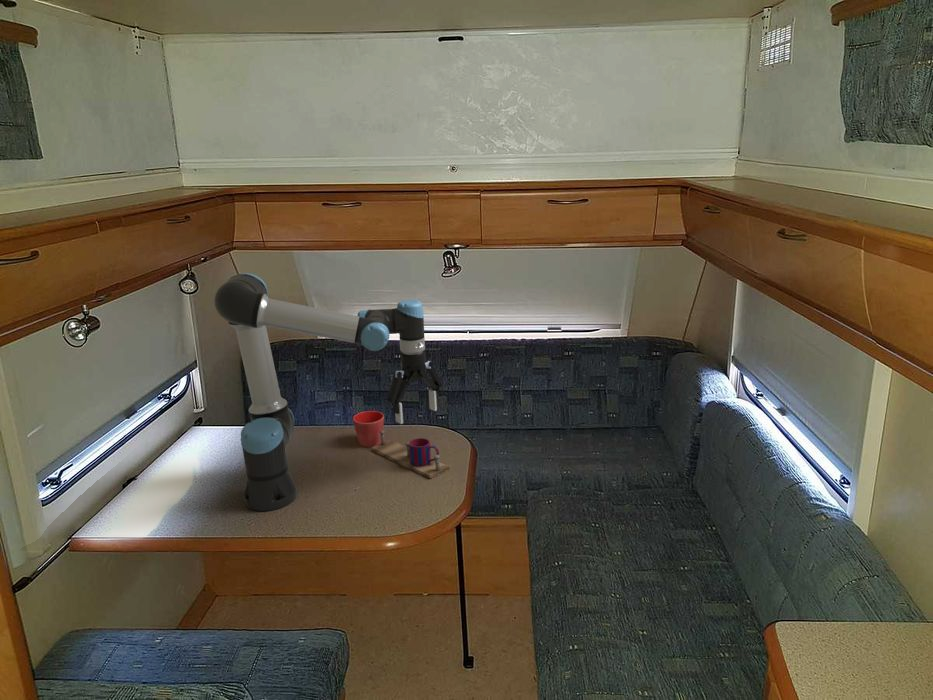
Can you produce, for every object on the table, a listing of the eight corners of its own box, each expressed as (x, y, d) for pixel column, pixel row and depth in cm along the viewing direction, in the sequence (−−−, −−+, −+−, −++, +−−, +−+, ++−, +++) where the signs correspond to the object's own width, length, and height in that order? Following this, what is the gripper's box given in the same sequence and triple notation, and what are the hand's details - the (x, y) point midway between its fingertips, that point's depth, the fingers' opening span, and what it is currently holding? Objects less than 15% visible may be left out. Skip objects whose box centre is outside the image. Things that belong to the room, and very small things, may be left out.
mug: (418, 455, 221) (416, 436, 219) (443, 461, 216) (442, 442, 214) (406, 463, 216) (404, 444, 214) (431, 470, 211) (430, 450, 209)
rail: (372, 450, 229) (370, 434, 227) (390, 443, 234) (389, 427, 232) (430, 479, 208) (429, 461, 206) (449, 470, 213) (448, 452, 211)
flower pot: (392, 438, 238) (389, 412, 235) (375, 451, 229) (373, 424, 226) (366, 434, 242) (363, 408, 239) (349, 446, 233) (346, 420, 230)
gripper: (387, 363, 195) (392, 431, 201) (451, 344, 211) (454, 407, 217) (371, 358, 200) (377, 424, 206) (435, 339, 216) (438, 401, 222)
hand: (416, 416), depth 212 cm, fingers open, 13 cm apart
